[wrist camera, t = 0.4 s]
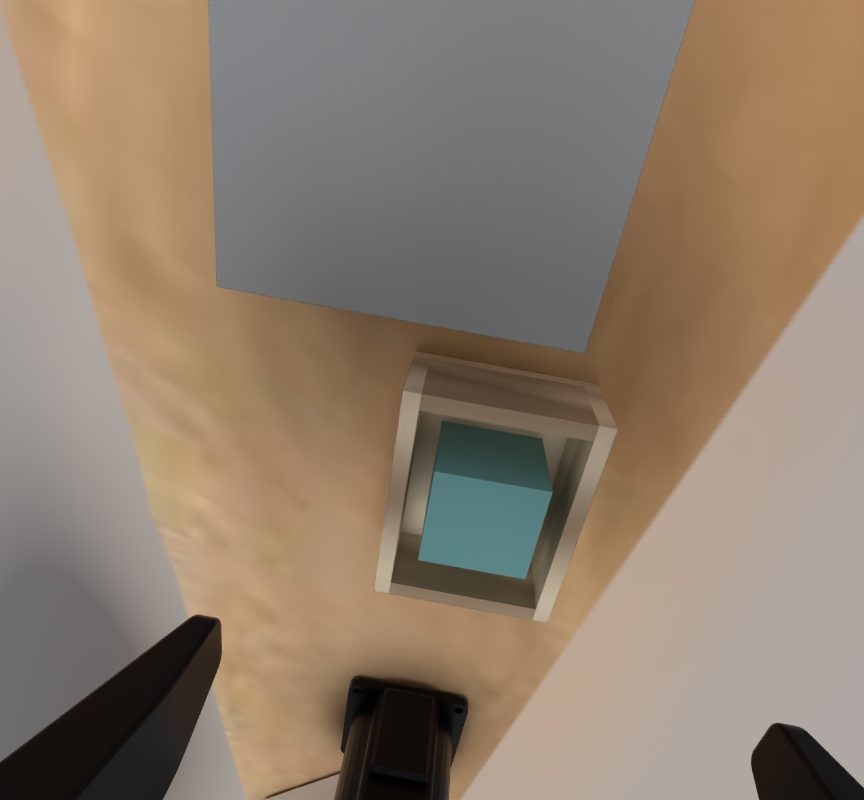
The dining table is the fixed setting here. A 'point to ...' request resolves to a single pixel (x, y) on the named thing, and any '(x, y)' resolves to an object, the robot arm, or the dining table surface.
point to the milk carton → (312, 791)
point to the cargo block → (485, 500)
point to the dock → (435, 154)
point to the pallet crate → (508, 412)
